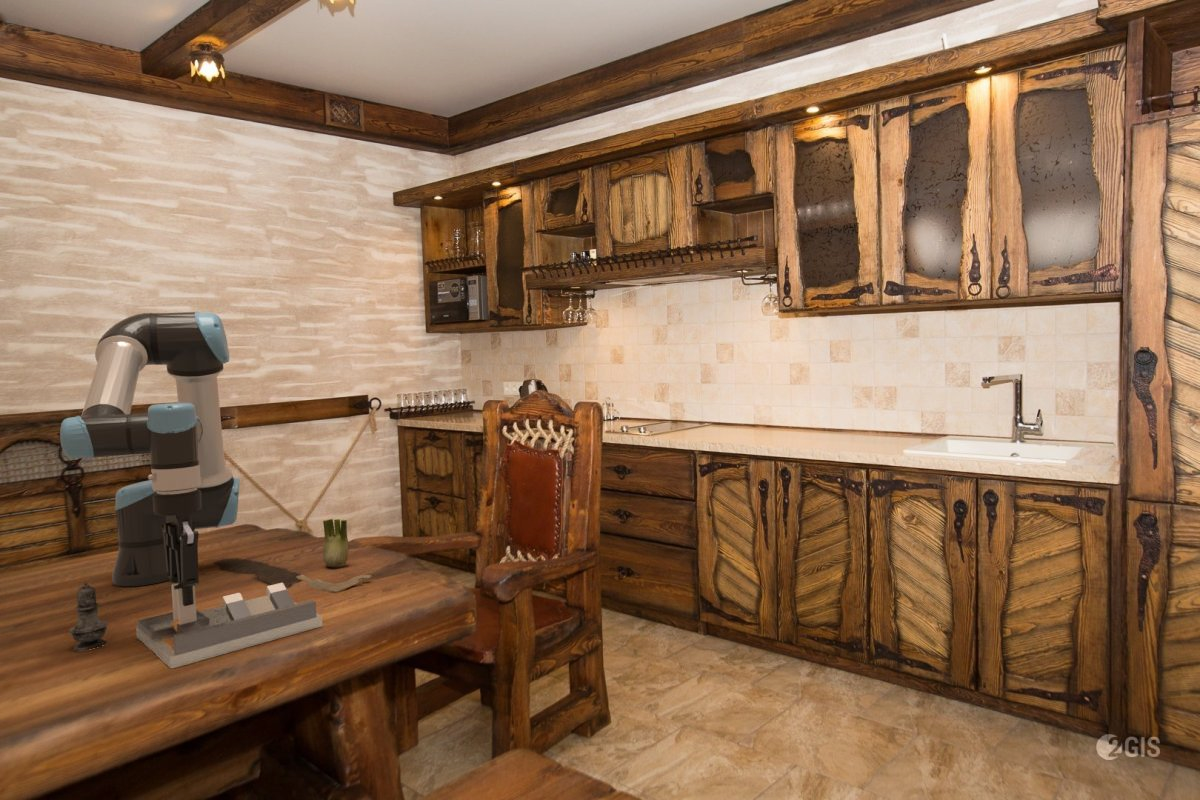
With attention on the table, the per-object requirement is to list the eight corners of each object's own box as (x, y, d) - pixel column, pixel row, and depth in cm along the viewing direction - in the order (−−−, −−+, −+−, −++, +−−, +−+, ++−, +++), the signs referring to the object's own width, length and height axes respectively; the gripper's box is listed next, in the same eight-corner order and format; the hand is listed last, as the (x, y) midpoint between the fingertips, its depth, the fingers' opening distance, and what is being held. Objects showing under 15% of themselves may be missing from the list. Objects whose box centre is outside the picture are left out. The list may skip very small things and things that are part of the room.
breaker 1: (221, 602, 141) (222, 596, 141) (238, 598, 144) (239, 592, 143) (236, 632, 137) (237, 626, 136) (253, 627, 139) (254, 621, 138)
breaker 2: (265, 592, 147) (266, 586, 146) (281, 588, 149) (282, 582, 148) (281, 620, 142) (282, 614, 142) (297, 616, 144) (298, 610, 144)
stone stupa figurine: (90, 652, 136) (85, 586, 135) (62, 651, 137) (57, 585, 136) (117, 640, 141) (112, 576, 141) (90, 639, 143) (85, 576, 142)
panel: (136, 637, 143) (134, 611, 142) (277, 602, 161) (275, 579, 160) (171, 668, 127) (169, 639, 126) (322, 626, 145) (320, 600, 145)
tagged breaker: (173, 628, 137) (173, 620, 137) (191, 623, 139) (191, 615, 139) (187, 645, 131) (187, 636, 131) (206, 640, 133) (206, 631, 133)
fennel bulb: (352, 565, 188) (349, 517, 187) (335, 570, 184) (332, 521, 183) (336, 563, 191) (333, 515, 190) (320, 568, 187) (317, 519, 186)
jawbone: (349, 598, 165) (348, 589, 165) (271, 594, 171) (270, 585, 171) (373, 582, 174) (372, 573, 173) (298, 579, 180) (297, 570, 179)
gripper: (141, 488, 138) (149, 615, 139) (165, 498, 127) (174, 636, 128) (186, 482, 143) (194, 605, 145) (214, 492, 132) (222, 624, 134)
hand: (185, 619), depth 136 cm, fingers open, 2 cm apart
